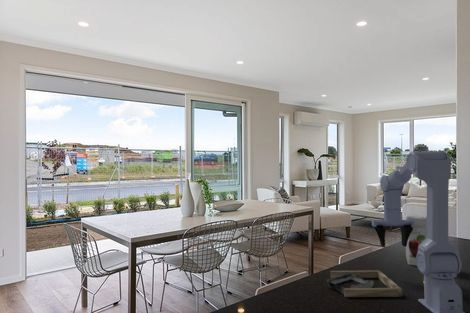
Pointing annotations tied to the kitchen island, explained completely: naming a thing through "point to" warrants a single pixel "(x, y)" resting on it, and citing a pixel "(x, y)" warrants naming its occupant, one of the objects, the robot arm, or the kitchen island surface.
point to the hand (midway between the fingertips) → (393, 245)
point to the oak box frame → (391, 291)
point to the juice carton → (416, 237)
